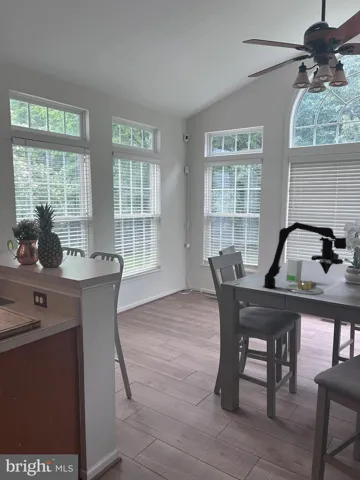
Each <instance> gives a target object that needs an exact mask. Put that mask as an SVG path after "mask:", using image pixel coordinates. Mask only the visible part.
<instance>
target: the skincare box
mask: <svg viewBox="0 0 360 480" xmlns="http://www.w3.org/2000/svg"><path fill="white" fill-rule="evenodd" d="M286 265H287V266H286V277H285V281H288V282H292V283H298V282H300V283H301V281H302V280H301V278H302V269H303V259H298V258H287V264H286Z"/></svg>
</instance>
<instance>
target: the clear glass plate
mask: <svg viewBox="0 0 360 480" xmlns="http://www.w3.org/2000/svg"><path fill="white" fill-rule="evenodd" d="M312 281H313V280H308V281H307V282H305V283H306V285H307V283H308V282H310V283H312ZM301 283H302V285H304V282H301ZM285 290H286V291H288V292H291V293H295V294H299V295H300V294H301V295H320V294H322V293H323V288H321V287H318V286H315V287H311V289H307V290H306V289H299V288H297V283H295V284H288V285H285Z"/></svg>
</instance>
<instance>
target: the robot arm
mask: <svg viewBox="0 0 360 480" xmlns="http://www.w3.org/2000/svg"><path fill="white" fill-rule="evenodd" d="M296 230H301V231H307V232H310V233H315V234H318V235H321V236H322V237H320V238H319V241H320V242H321V241H322V243H321V244H322V245H321V249H320V252H321V255H318V254H317V255H312V256H311V259H310V260H311V261H317V260H319V261H318V263H319V264H320V266H321V268H322V270H323V273H324V274H325V275H326V274H328V272H329V271H330V267H332V266H333V265H342V264H344V260H343V258H339V256H340V255H339V254H338V253H336V252H335V250H333V248H335V249H337V250H346V249H347V237H337V236H336V235H335V234H334V229H332V228H331V227H329V226H315V225H311V224H306V223H301V222H298V221H296V222H294V223H293V224H291V225H289V226H287V227H282V228H281V229H280V230H279V233H278V244H277V247H276V251H275V254H274V257H273V260H272V261H273V262H272V263H271V266H270V267H269V269H268V270H267V271H268V272H267V273H265V275H264V284H263V285H262V287H263V288H265V289H269V290H270V289H277V288H278V287H277V286H276V278H275V277H277V276H278V274H280V273H281V272H280V271H281V269H282V266H281V265H280V261H281V258H282V254H283V251H284V247H285V244H286V241H287V239H288V238H289V236H290V234H291V233H292V232H294V231H296Z"/></svg>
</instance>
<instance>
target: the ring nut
mask: <svg viewBox="0 0 360 480" xmlns="http://www.w3.org/2000/svg"><path fill="white" fill-rule="evenodd" d="M301 281H302V282H304V285H302V282H301ZM301 281H300V282H296V284H297V288H299V289H306V290H307V289H311V287H317V282H315V281H313V282H312V283H310V282H308V281H307V282H306V281H304V280H301ZM306 283H307V285H306Z"/></svg>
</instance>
